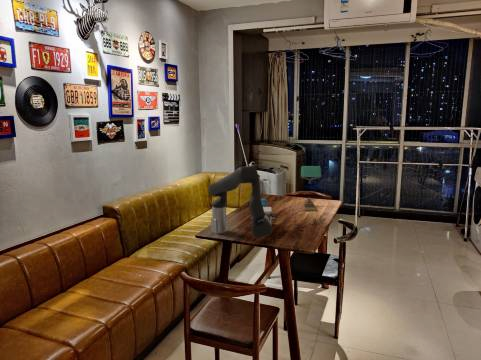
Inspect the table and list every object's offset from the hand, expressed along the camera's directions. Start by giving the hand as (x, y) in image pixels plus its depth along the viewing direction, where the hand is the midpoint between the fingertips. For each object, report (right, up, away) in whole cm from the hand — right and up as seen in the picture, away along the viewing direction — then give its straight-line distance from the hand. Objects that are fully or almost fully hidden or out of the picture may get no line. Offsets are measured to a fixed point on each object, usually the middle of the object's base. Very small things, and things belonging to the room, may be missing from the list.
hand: (263, 213), depth 216 cm
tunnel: (+2, -13, +23) cm, 27 cm away
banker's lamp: (+43, -3, +77) cm, 88 cm away
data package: (+1, -7, +62) cm, 62 cm away
